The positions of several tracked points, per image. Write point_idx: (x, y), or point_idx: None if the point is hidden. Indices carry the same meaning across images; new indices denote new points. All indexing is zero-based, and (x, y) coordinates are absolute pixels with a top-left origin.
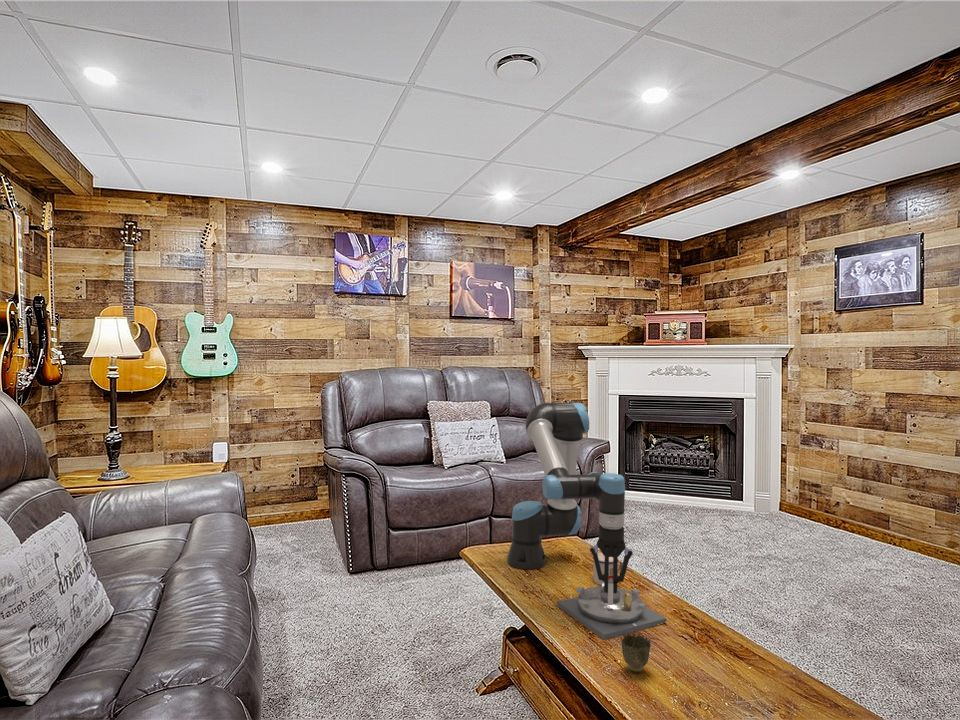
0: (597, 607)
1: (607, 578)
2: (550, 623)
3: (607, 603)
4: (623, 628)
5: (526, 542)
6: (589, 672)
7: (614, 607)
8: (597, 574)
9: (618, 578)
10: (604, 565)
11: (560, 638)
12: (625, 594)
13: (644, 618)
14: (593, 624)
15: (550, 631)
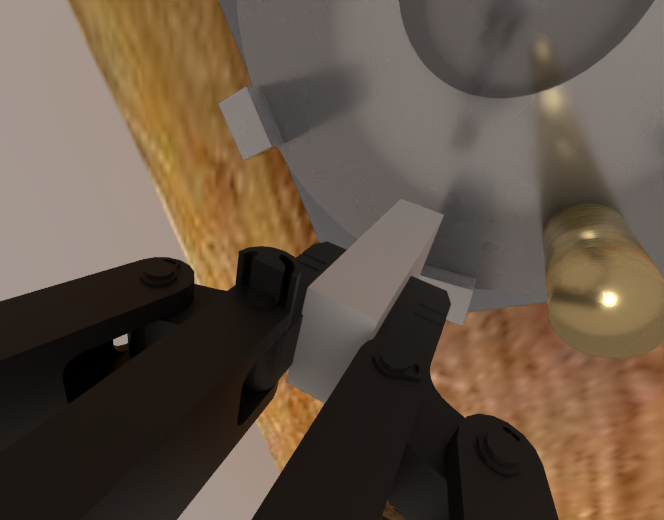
0: (343, 165)
1: (239, 418)
2: (169, 132)
3: (448, 95)
4: (485, 300)
5: None
6: (273, 446)
7: (479, 181)
8: (87, 377)
9: (399, 499)
10: (7, 487)
11: (206, 261)
12: (556, 333)
13: None
14: (330, 224)
15: (173, 204)
